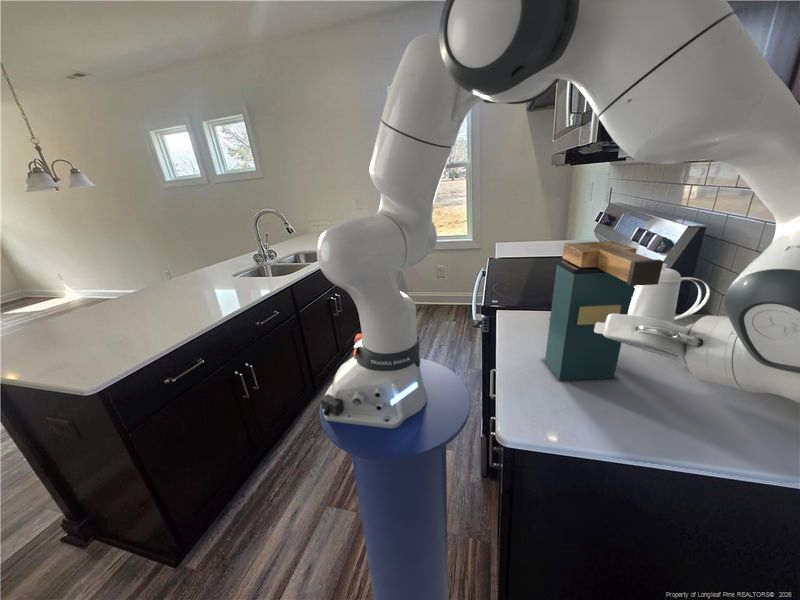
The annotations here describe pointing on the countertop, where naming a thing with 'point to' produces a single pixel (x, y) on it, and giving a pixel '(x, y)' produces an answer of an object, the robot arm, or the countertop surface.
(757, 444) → the countertop surface
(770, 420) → the countertop surface
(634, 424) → the countertop surface
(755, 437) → the countertop surface
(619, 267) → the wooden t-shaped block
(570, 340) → the teal box with label
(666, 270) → the coffeepot
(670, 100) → the robot arm
